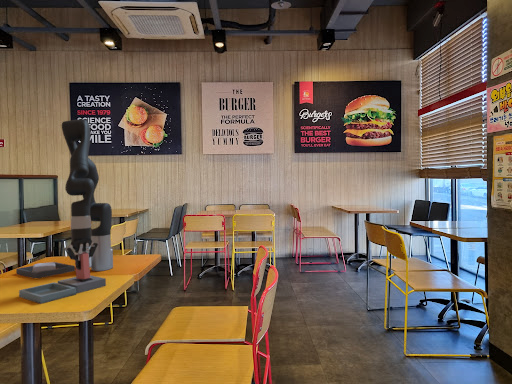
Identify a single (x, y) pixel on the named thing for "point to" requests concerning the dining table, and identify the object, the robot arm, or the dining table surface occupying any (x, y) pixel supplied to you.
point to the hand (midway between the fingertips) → (82, 268)
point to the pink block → (83, 267)
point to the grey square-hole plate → (84, 283)
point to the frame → (28, 271)
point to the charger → (43, 267)
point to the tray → (47, 292)
